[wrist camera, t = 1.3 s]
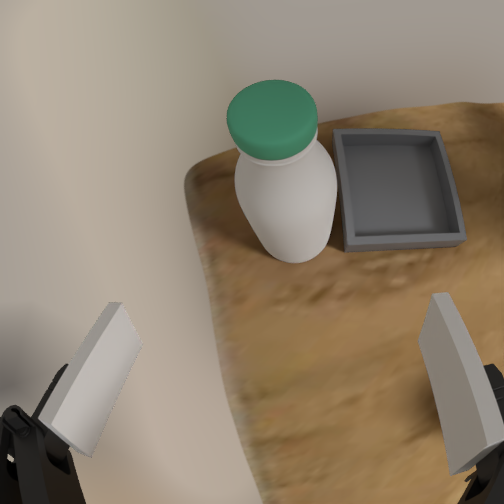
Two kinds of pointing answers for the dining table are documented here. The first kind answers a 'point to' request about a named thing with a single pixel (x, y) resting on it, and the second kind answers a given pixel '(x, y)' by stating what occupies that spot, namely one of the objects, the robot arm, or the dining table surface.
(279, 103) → the milk bottle
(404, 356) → the dining table surface
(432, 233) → the tray
